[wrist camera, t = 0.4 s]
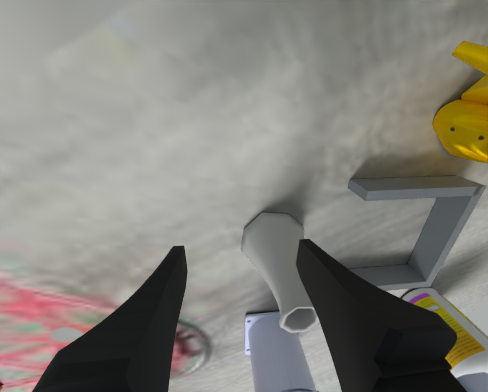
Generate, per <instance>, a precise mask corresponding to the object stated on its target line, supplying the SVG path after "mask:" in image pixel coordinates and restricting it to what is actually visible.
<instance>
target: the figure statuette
mask: <svg viewBox="0 0 488 392" xmlns="http://www.w3.org/2000/svg"><path fill="white" fill-rule="evenodd" d="M452 55H453V56H455V57H457V58H458V59H460V60H462V61H463V62H465V63H467V64H469V65H470V66H472V67H474V68H476V69H478V70H479V71H481V72H483V73H485V74H486V75H484V76H483V77H482V78H481V79H480V80H479V81H477V82H476V83H475V84H474V85H473V86H472V87H470V88H469V89H468V90H467V91H466V92H465V93H463V94H462V96H461V99H458V100H455V101H453V102H450V103H448V104H446V105H445V106H443V107H442V108H441V109H440V110H439V111H438V113H437V114H436V116H435V118H434V121H433V127H434V130H435V132H436V134H437V136H438V137H439V139H440V141H441V143H442V145H443V146H444V148H445V149H446V150H447V151H448V153H449V154H451V155H454V156H457V157H460V158H464V159H468V160H473V161H477V162H483V163H488V47H485V46H481V45H477V44H474V43H470V42H466V41H463V42H462V43H461V44H460V45H459V46H458V47H457V48H456V49H455V51H454V52H453V54H452Z"/></svg>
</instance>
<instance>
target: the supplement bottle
mask: <svg viewBox="0 0 488 392" xmlns="http://www.w3.org/2000/svg"><path fill="white" fill-rule="evenodd" d="M402 299H403V300H405V301H407V302H410V303H412V304H414V305H417V306H420V307H422V308H425V309H427V310H430V311H432V312H435V313H437V314H438V315H439V316H440V317H441V318H442V319H443V320H444V321H445V322H446V323H447V324H448V325H449V326H450V327H451V328H452V329H453V330H454V331H455V332H456V334H457V342H456V343H455V345H454V347H453V348H452V349H451V351H450V352H449V353H448V355H447V356H446V357H445V359H446V360H447V361H448V362H449V364H450V365H451V366H452V369H451V370H450V372H451V373H452V374H453V375H454V376H455V378H457V377H459V376H462V375H466V374H474V373H481V372H485V373H488V336H487V335H486V334H485V333H484V332H482V331H481V330H480V329H479V328H478V327H477V326H476V325H475V324H474V323H473V322H471V321H470V320H469V319H468V318H467V317H466V316H465V315H464V314H463V313H461V312H460V311H459V310H458V309H457V308H456V307H455V306H454V305H453V304H451V303H450V302H449V301H448V300H447V299H446V298H445V297H444V296H443V295H441V294H440V293H439V292H438V291H436V290H435V289H432V288H419V289H415V290H413V291H411V292H409V293H407V294H406V295H405V296H404V297H403V298H402Z"/></svg>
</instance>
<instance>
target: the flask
mask: <svg viewBox="0 0 488 392" xmlns="http://www.w3.org/2000/svg"><path fill="white" fill-rule="evenodd" d="M300 239H304V228H303V227H302V226H301V225H300V224H299V223H298V222H297V221H295V220H294V219H293V218H292V217H291V216H290V215H288V214H282V213H261V214H260V215H259V216H258V217H257V218H256V219H255V220H254V221H252V222H251V223H250V224H249V225H248V226H247V227H246V228H245V229H244V232H243V239H242V246H241V251H242V252H243V253H244V255H245V256H246V257H247V258H248V259H249V261H250V262H251V263H252V264H253V265H254V267H255V268H256V269H257V271H258V272H259V273H260V274H261V276H262V277H263V278H264V280H265V281H266V282H267V284H268V285H269V287H270V289H271V291H272V293H273V295H274V297H275V299H276V301H277V303H278V307H279V310H280V313H281V316H280V319H279V325H280V327H281V328H283V329H285V330H287V331H288V332H290V333H298V332H307V331H309V330H310V329H312V328H313V327H315V326H316V325H318V324H319V322H320V321H319V319H318V316H317V314H316V312H315V309H314V307H313V305H312V303H311V301H310V299H309V297H308V295H307V292H306V290H305V288H304V286H303V284H302V281H301V279H300V276H299V273H298V270H297V267H296V259H297V253H298V247H299V241H300Z"/></svg>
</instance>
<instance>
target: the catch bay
mask: <svg viewBox="0 0 488 392" xmlns="http://www.w3.org/2000/svg"><path fill="white" fill-rule="evenodd" d="M348 188H349V189H350V190H351V191H353V192H354V193H356V194H357V195H358V196H360V197H361V198H362V199H364V200H365V201H370V200H391V199H412V198H433V197H438V198H437V200H436V202H435V204H434V207H433V209H432V211H431V213H430V215H429V217H428V220H427V222H426V224H425V226H424V228H423V230H422V233H421V235H420V237H419V239H418V241H417V244H416V246H415V248H414V250H413V252H412V254H411V257H410V259H409V261H408V263H407V264H403V265H391V266H379V267H367V268H355V269H349V270H350V271H352V272H353V273H355V274H356V275H358V276H359V277H361V278H363V279H364V280H366V281H368V282H369V283H371V284H373V285H375V286H377V287H378V288H380V289H382V290H384V291H389V290H399V289H410V288H420V287H430V286H431V284H432V283H433V281H434V279H435V277H436V275H437V274H438V272H439V270H440V268H441V266H442V265H443V263H444V261H445V259H446V258H447V256H448V254H449V252H450V250H451V249H452V247H453V245H454V243H455V241H456V240H457V238H458V236H459V234H460V233H461V231H462V229H463V227H464V225H465V224H466V222H467V220H468V218H469V216H470V215H471V213H472V211H473V209H474V207H475V206H476V204H477V202H478V200H479V199H480V197H481V195H482V193H483V191H484V190H485V188H486V186H485V185H482V184H479V183H476V182H473V181H470V180H467V179H464V178H462V177H459V176H428V177H401V178H373V179H350V182H349V186H348Z"/></svg>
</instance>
